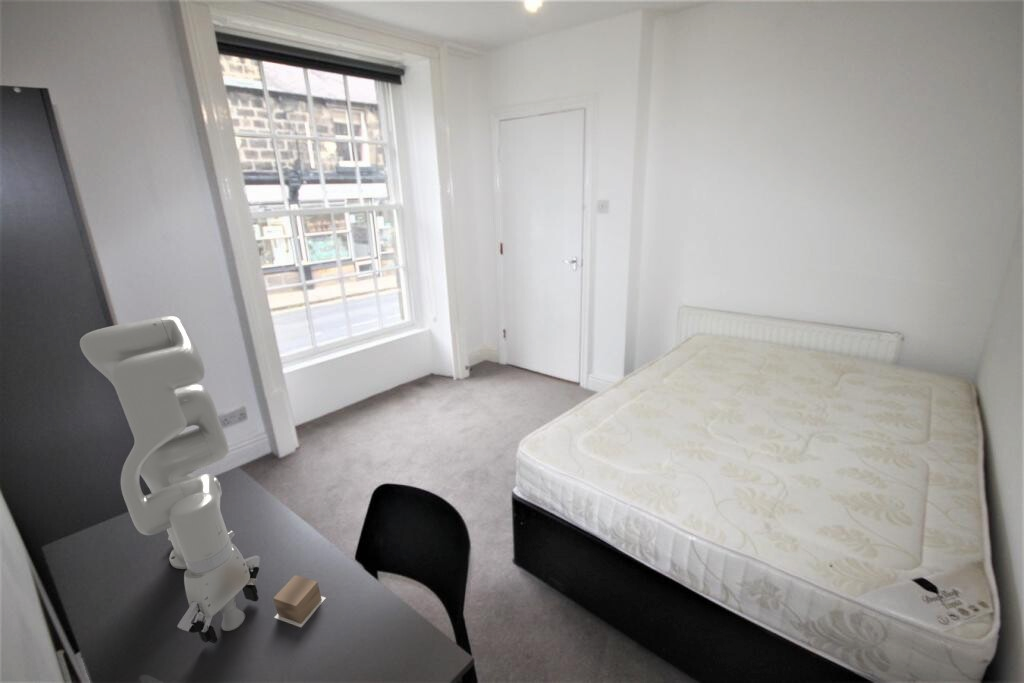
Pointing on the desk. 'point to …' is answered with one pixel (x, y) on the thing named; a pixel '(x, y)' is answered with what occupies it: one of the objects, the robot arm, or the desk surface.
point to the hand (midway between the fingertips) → (232, 618)
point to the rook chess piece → (231, 616)
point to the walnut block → (297, 599)
